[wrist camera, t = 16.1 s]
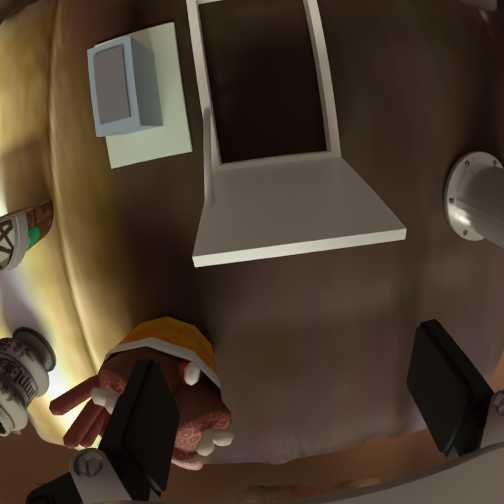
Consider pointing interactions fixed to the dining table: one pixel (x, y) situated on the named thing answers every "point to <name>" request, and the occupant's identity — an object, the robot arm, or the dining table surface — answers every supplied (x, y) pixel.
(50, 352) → the apothecary jar
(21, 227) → the food container
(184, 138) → the mat
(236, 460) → the dining table surface
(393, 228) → the case
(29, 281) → the dining table surface
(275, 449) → the dining table surface
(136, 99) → the box
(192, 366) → the bucket of meat
